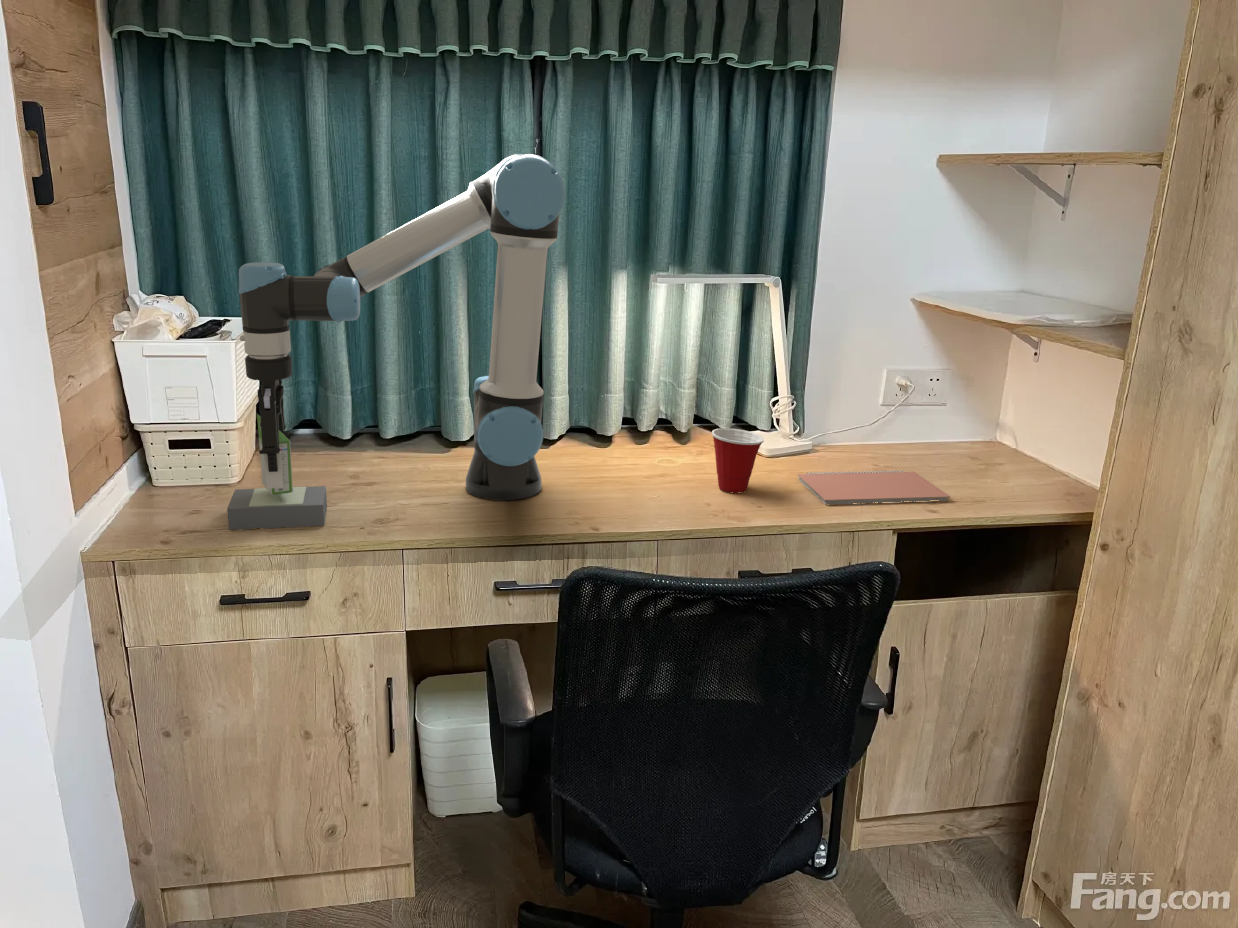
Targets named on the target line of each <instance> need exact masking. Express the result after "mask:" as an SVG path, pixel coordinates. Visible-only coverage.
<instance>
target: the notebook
mask: <svg viewBox="0 0 1238 928" xmlns="http://www.w3.org/2000/svg"><path fill="white" fill-rule="evenodd" d="M797 477H798V481H799V482H800V483H802V485H803V486H804V487H806V488H807V489H808V490H809V491H810V490H811V491H812V492H813V493H814V494H815V495H814V496H816V497H817V496H818V497H819V498H820V499H821V500H822V501H823V502H824V503H825V504H826V505H825V504H824V503H823V502H822V501H821V500H820V499H819V498H818V497H817V498H818V499H819V500H820V501H821V502H822V503H823V504H824V505H825V506H828V505H827V504H853V503H857V504H856V505H862V504H861V503H873V502H874V503H875V502H878V503H882V502H901V501H902V502H904V501H910V502H911V501H912V502H914V501H915V502H916V501H930V500H939V501H948V498H951V496H950V495H949V494H948V493H946V492H944V491H943V490H942V489H940V488H939V487H938V486H936V485H935V484H934V483H931V482H930V481H929V480H927V479H926V478H924V477H923V476H922V475H920V474H919V473H917V472H916V471H905V470H904V469H903V470H881V471H880V470H878V471H877V470H875V471H873V470H872V471H870V470H869V471H867V470H866V471H864V470H863V471H861V470H860V471H838V472H837V471H835V472H834V471H832V472H831V471H829V472H828V471H826V472H825V471H822V472H821V471H820V472H806V473H805V474H800V473H797ZM811 491H810V492H811ZM812 492H811V493H812ZM813 493H812V494H813ZM858 503H860V504H858Z"/></svg>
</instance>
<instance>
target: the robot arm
mask: <svg viewBox="0 0 1238 928" xmlns="http://www.w3.org/2000/svg"><path fill="white" fill-rule="evenodd" d="M565 196H566V195H565V184H564V182H563V179H562V176H561V174H560V172H559V171H558V169H557V168H556V166H555V165H554V164H552V162H550V161H549V160H547V158H544V157H542V156H540V155H536V154H532V153H517V154H512V155H510V156H507V157H505V158H504V159H502V160H501V161H500V162H499V163H498V164H496V165H495V166H494V167H493V168H491V169H490V170H488V171H487V172H486V173H485V174H483V175H481V176H480V177H478V178H477V179H475V180H473V181H470V182H469V185H468V188H467V190H466V191H464V192H462V193H460V194H459V195H456V197H453V198H451V199H450V200H447V201H446V202H443V203H442V204H440V205H439V206H436V207H435V208H433V209H431V210H429V211H427V212H426V213H424V214H422V215H420V216H418V217H416V218H415V219H412V220H411V221H408V222H407V223H405V224H403V225H402V226H400V227H398V228H396V229H394V230H392V231H390V232H388V233H386V234H385V235H383V236H380V237H379V238H377V239H375V240H373V241H372V242H370V243H368V244H366V245H364V246H362V247H361V248H359V249H357V250H355V251H353V252H352V253H351V252H350V253H349V254H348V255H346V256H345V257H342V258H340V259H338V260H336V261H335V262H333V263H331V264H327V265H324V266H323V267H321V268H320V269H318V270H316V272H315V273H314V275H313V276H311V275H309V276H308V275H307V276H306V275H305V276H304V275H303V276H298V275H297V276H296V275H288V274H287V272H286V269H285V266H284V265H283V264H282V263H279V262H265V261H264V262H262V261H261V262H259V261H258V262H257V261H255V262H248V263H244V264H243V265H241V266H240V267H239V269H238V286H239V287H238V289H239V290H238V295H239V303H240V313H241V314H240V315H241V322H242V323H241V325H242V331H243V332H242V333H243V335H240V336H239V340H240V341H241V342H244V344H243V346H244V353H245V354H246V356H245V358H244V362H245V363H244V364H245V374H246V377H247V378H248V379H250V380H253V381H259V382H261V383H260V384H261V385H259V386H258V387H259V388H257V401H258V405H259V416H261V423H260V426H261V433H262V450H260V449H259V451H258V454H259V455H260V454H264V460H265V472H266V485H267V489H270V488H283V474H282V460H281V451H280V448H279V431H281V432H282V433H283V434H284V435H285V436H286V437H290V431H289V430H286V428H287V426H286V421H285V420H286V419H285V410H284V392H285V390H284V389H285V387H284V385H283V380H286V379H289V378H290V377H291V376H292V375H293V365H292V356H291V355H290V354H289V353H291V352H292V346H291V345H292V344H291V331H290V330H291V329H290V325H289V321H294V322H295V321H309V322H310V321H311V322H312V321H313V322H315V321H317V322H319V321H321V322H336V323H342V322H348V321H349V322H350V321H356V320H358V319H359V318H360V315H361V297H364V296H366V294H368V293H370V292H371V291H374V290H376V289H377V288H379V287H381V286H384V285H385V284H387V283H389V282H391V281H393V280H394V279H397V278H398V277H400V276H402V275H404V274H406V273H407V272H410V271H412V270H413V269H415V268H417V267H419V266H421V265H423V264H424V263H426V262H428V261H430V260H432V259H435V257H438V256H439V255H442V254H443V253H445V252H447V251H449V250H451V249H453V248H454V247H456V246H458V245H460V244H462V243H464V242H466V241H468V240H469V239H471V238H473V237H475V236H478V235H479V234H481V233H483V232H485V231H486V230H489V233H490V235H491V236H492V237H493V239H494V240H495V241H496V242H497V257H496V267H495V268H496V270H495V281H494V282H495V283H494V284H495V285H494V296H493V308H492V309H493V311H492V313H493V314H492V326H491V341H490V353H489V354H490V356H489V357H490V358H489V367H488V369H489V370H488V375H484V376H480V377H478V378H476V379H475V381H474V383H473V390H472V393H473V400H474V401H473V403H474V404H473V407H474V408H473V410H474V411H473V414H474V417H473V418H474V419H473V424H474V427H473V428H474V429H473V431H474V432H473V433H474V435H473V436H474V438H473V439H474V440H473V441H474V453H473V455H472V458H471V460H470V464H469V467H468V471H467V473H466V476H465V489H466V491H467V492H468V494H470V495H473V496H474V497H477V498H481V499H484V500H485V499H486V500H490V501H491V500H494V501H514V500H523V499H526V498H531V497H533V496H535V495H537V494H539V492H540V491H541V490H542V475H541V472H540V469H539V466H538V464H537V463H538V462H537V459H536V455H537V454H538V452H539V450H540V449H541V447H542V444H543V441H544V430H543V429H544V427H543V424H542V416H543V407H544V406H543V403H544V389H543V388H542V386H540V385H539V383H538V382H537V377H538V365H539V364H538V363H539V352H540V341H541V327H542V320H543V319H542V317H543V316H542V315H543V304H544V293H545V292H544V291H545V285H546V284H545V281H546V271H547V259H548V258H547V257H548V249H549V248H550V247H551V246H552V245H553V244H554V243H555V242H557V240H558V231H559V223H560V220H559V219H560V213H561V211H562V209H563V206H564V203H565Z"/></svg>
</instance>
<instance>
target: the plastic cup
mask: <svg viewBox="0 0 1238 928" xmlns="http://www.w3.org/2000/svg"><path fill="white" fill-rule="evenodd" d="M711 436H712V437H713V443H714V444H713V446H714V453H715V465H716V467H715V468H716V474H717V484H718V489H719V490H720V491H722V490H723V491H722V492H724V491H726V492H725V493H727V492H733V493H732V494H739V493H738V492H743V493H745V492H747V489H748V486H749V483H750V478H751V476H752V474H753V469H754V466H755V461H756V458H757V455H758V453H759V450H760V448H761V447H762V446H761V445H762V444H763V443H764V442H765V437H763V436H762V435H761V434H758V433H755V432H753V431H749V430H745V429H738V428H725V427H724V428H716V429H713V430H712V431H711ZM744 491H745V492H744Z"/></svg>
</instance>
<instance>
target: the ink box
mask: <svg viewBox="0 0 1238 928" xmlns="http://www.w3.org/2000/svg"><path fill="white" fill-rule="evenodd" d="M256 421H257V430H258V441H259V442H258V443H259V450H262V433H261V416H260V414H258V413H256ZM279 448H280V451H281V460H282V474H283V488H270V489H267V485H266V472H265V460H264V454H260V453H259V456H260V467H261V468H260V469H261V470H260V471H261V484H262V485H263V487H264V488H266V489H267V490H268V491H269V492H270V493H271V494H272V495H275V494H284V493H291V492H293V487H294V486H293V470H292V469H293V468H292V467H293V466H292V452H291V451H292V450H291V440H290V439H289V438H288V436H285V435H284V434H283V433H282V432H281V431H279Z"/></svg>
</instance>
